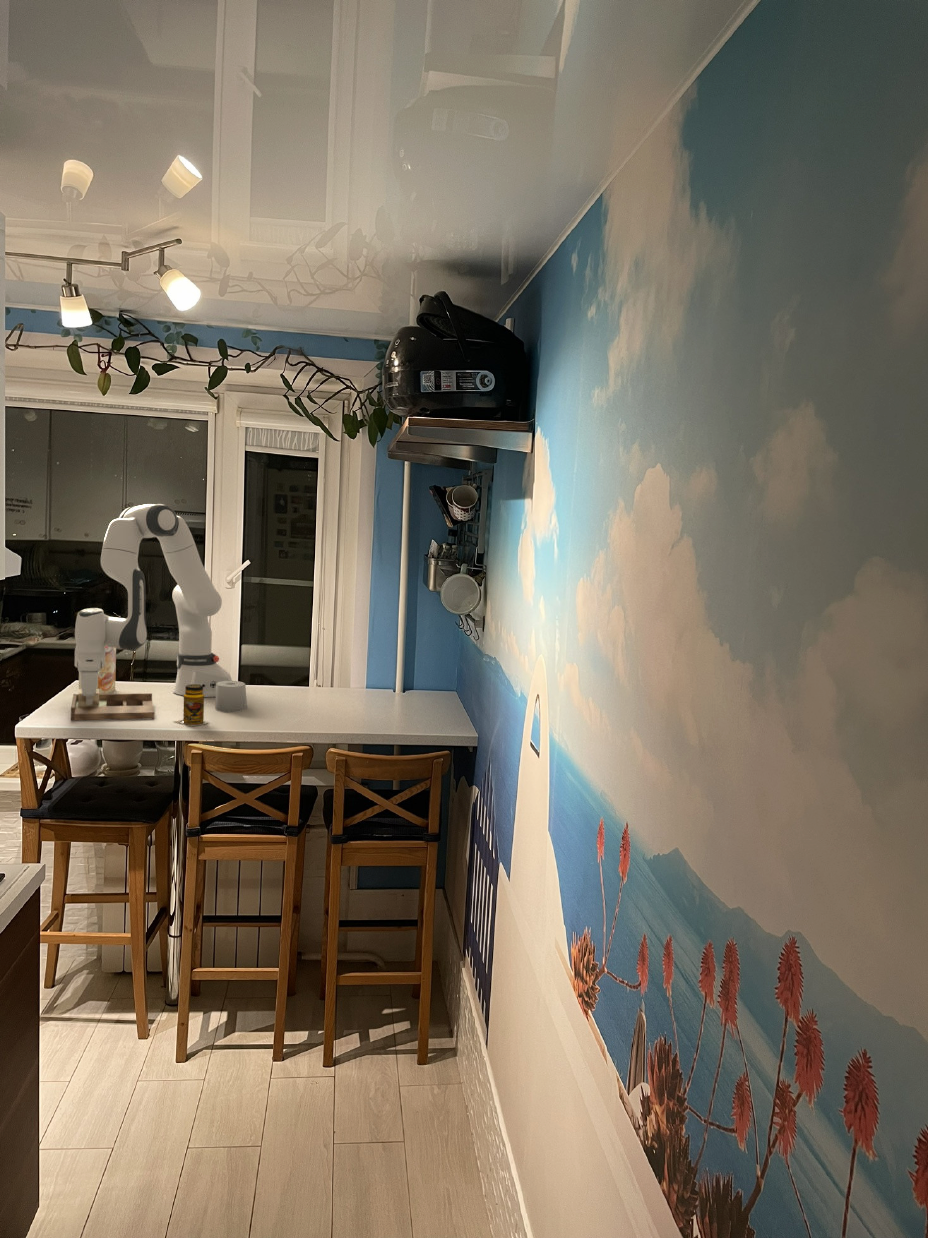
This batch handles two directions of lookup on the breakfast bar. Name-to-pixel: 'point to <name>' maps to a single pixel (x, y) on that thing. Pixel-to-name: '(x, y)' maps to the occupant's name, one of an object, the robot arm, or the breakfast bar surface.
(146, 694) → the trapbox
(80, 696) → the block
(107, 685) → the coffeecake box
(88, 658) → the robot arm
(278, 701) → the breakfast bar surface
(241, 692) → the toilet tissue
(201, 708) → the condiment
